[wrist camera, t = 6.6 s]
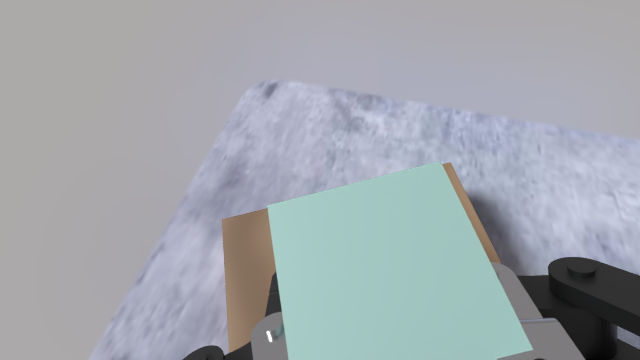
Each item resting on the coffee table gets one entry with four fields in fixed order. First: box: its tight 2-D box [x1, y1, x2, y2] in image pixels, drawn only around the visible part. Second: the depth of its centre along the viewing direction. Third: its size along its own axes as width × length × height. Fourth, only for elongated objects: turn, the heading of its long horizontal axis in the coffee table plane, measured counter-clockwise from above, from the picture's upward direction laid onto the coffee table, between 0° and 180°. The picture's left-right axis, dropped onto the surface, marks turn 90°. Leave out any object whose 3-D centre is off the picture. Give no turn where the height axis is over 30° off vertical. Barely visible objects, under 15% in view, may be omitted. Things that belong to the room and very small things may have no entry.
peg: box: [267, 161, 533, 360], centre depth 11 cm, size 4×4×11 cm
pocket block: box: [222, 162, 502, 353], centre depth 15 cm, size 13×13×4 cm
